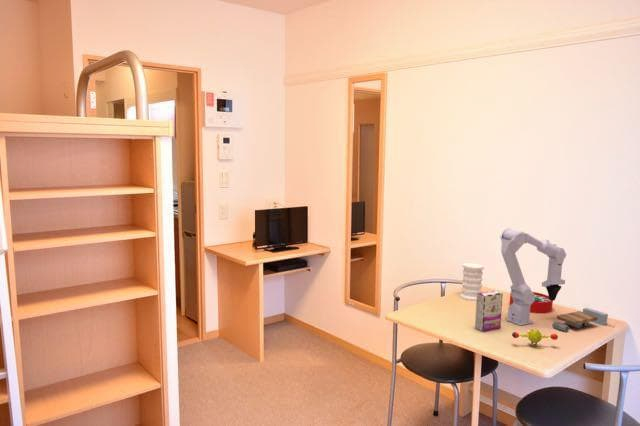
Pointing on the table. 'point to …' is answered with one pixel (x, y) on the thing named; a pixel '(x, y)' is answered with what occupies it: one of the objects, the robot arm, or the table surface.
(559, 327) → the roller
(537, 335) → the toy figure
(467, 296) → the decorative container
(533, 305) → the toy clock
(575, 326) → the roller
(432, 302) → the table surface
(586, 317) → the slab
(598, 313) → the block
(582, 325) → the roller
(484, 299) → the candy bar box
